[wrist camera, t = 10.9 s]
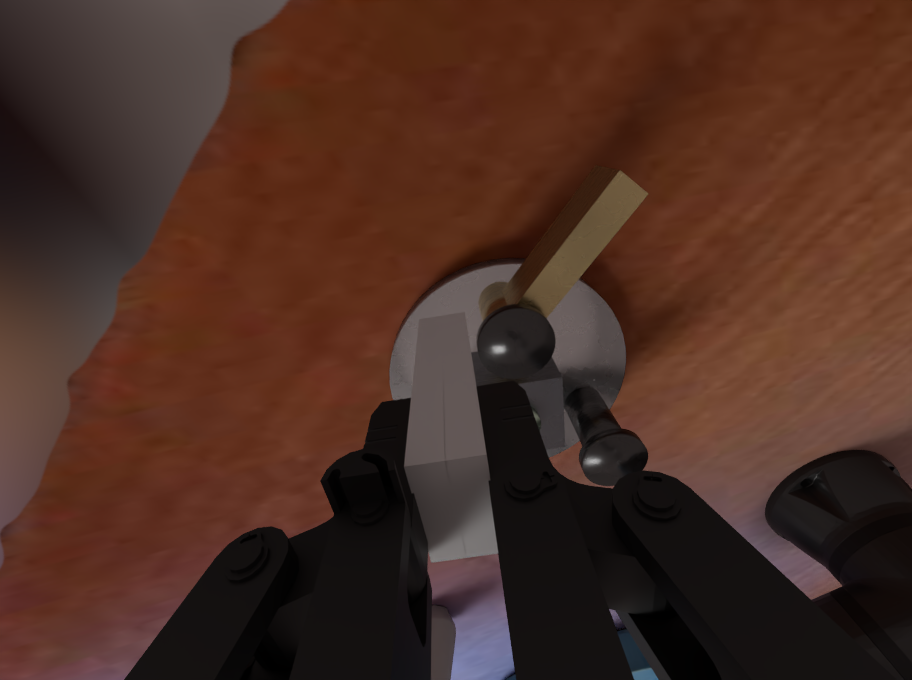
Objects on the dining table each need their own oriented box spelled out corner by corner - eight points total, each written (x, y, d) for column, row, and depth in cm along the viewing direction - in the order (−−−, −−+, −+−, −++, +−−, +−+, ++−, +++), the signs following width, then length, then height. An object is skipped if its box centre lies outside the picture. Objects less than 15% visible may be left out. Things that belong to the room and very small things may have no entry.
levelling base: (621, 238, 34) (686, 275, 25) (614, 437, 44) (659, 514, 35) (365, 280, 35) (342, 331, 26) (416, 467, 45) (412, 550, 36)
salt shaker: (450, 598, 56) (453, 718, 45) (459, 620, 59) (465, 739, 47) (409, 605, 57) (403, 727, 45) (420, 627, 59) (417, 747, 48)
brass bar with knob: (506, 340, 35) (523, 390, 28) (456, 311, 34) (462, 356, 27) (622, 193, 30) (678, 211, 23) (570, 151, 29) (613, 157, 22)
